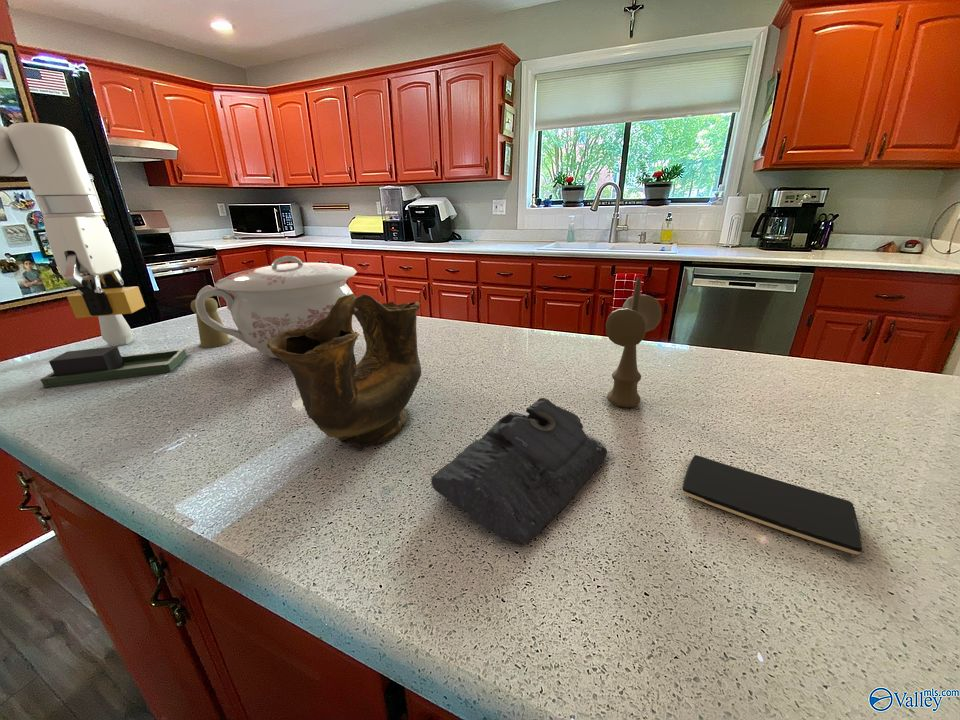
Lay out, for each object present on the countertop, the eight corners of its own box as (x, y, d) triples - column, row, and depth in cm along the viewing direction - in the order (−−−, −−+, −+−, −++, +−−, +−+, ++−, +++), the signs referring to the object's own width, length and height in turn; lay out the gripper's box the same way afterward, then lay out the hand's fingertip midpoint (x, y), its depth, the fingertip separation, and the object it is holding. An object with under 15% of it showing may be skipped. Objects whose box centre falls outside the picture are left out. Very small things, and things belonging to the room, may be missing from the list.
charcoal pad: (57, 380, 76) (48, 361, 75) (75, 369, 81) (66, 351, 79) (110, 373, 78) (102, 355, 77) (124, 363, 83) (117, 346, 82)
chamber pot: (383, 329, 101) (372, 246, 93) (336, 374, 76) (316, 266, 68) (280, 329, 104) (261, 248, 96) (203, 372, 79) (168, 267, 71)
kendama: (650, 394, 65) (669, 273, 58) (634, 420, 58) (653, 285, 50) (613, 386, 69) (627, 270, 61) (594, 409, 61) (606, 281, 54)
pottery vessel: (348, 490, 46) (316, 327, 38) (276, 471, 49) (234, 318, 42) (441, 394, 67) (433, 278, 60) (387, 386, 71) (372, 275, 63)
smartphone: (692, 453, 48) (855, 501, 40) (691, 460, 49) (851, 510, 41) (680, 487, 43) (865, 551, 35) (678, 495, 43) (861, 561, 35)
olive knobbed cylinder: (197, 348, 92) (182, 302, 88) (206, 340, 97) (192, 296, 93) (225, 345, 93) (212, 300, 89) (233, 337, 99) (221, 294, 95)
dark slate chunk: (411, 491, 45) (407, 457, 44) (518, 413, 61) (518, 385, 59) (523, 560, 36) (524, 521, 35) (615, 448, 52) (618, 416, 50)
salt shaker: (113, 340, 99) (92, 289, 94) (140, 338, 101) (121, 287, 96) (100, 348, 94) (77, 294, 89) (129, 345, 96) (108, 292, 91)
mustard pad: (75, 318, 71) (66, 296, 69) (93, 310, 76) (85, 290, 74) (131, 313, 73) (123, 292, 72) (145, 306, 78) (138, 286, 77)
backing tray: (44, 387, 74) (39, 379, 74) (73, 369, 82) (70, 361, 82) (170, 371, 80) (168, 364, 79) (187, 356, 88) (184, 349, 87)
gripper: (75, 207, 74) (112, 301, 81) (4, 209, 59) (57, 325, 66) (122, 206, 76) (155, 298, 83) (65, 207, 61) (111, 320, 68)
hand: (111, 309), depth 74 cm, fingers closed on mustard pad, 5 cm apart
